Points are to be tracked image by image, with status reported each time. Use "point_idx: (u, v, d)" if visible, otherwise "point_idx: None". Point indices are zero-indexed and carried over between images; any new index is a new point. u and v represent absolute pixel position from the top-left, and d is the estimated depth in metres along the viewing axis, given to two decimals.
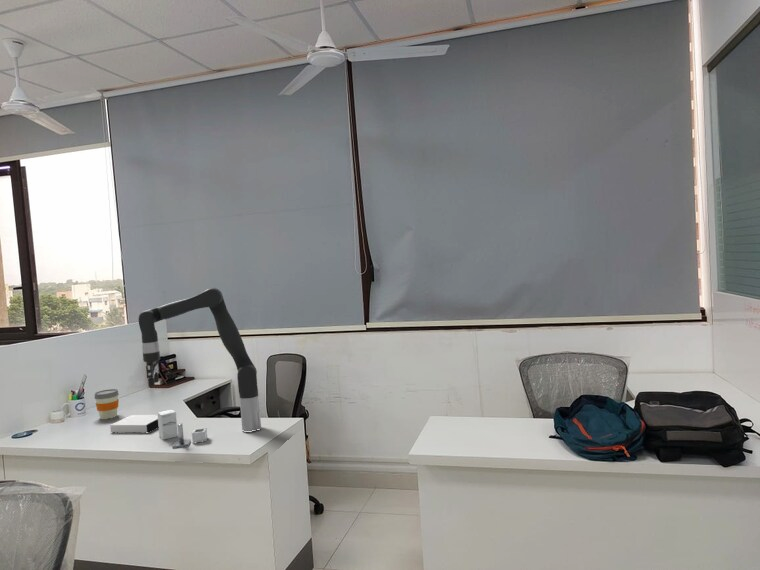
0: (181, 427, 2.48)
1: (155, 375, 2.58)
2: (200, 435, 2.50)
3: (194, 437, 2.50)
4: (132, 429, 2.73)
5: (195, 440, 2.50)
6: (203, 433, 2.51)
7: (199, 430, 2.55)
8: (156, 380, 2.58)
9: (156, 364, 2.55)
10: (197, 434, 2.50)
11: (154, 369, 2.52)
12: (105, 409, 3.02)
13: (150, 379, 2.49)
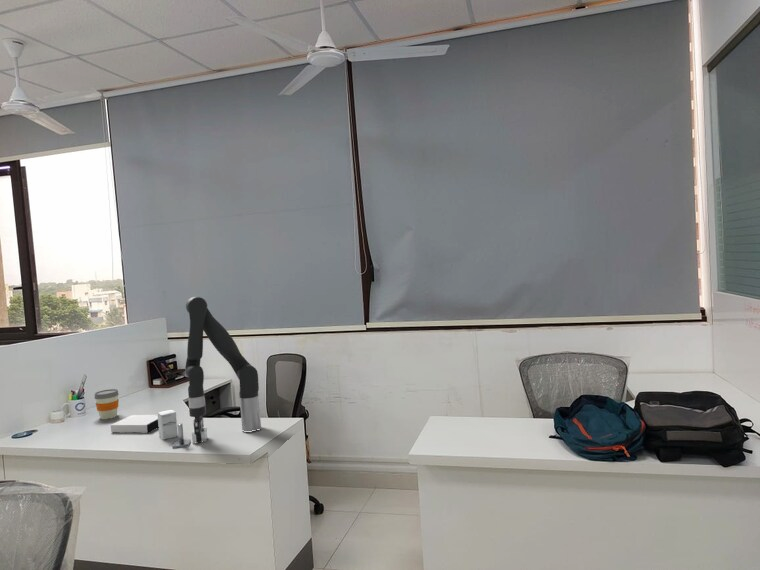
0: (181, 427, 2.48)
1: None
2: None
3: (194, 437, 2.50)
4: (133, 429, 2.73)
5: (195, 440, 2.50)
6: (203, 433, 2.51)
7: None
8: None
9: (202, 418, 2.54)
10: None
11: (201, 424, 2.51)
12: (105, 409, 3.02)
13: (197, 435, 2.49)
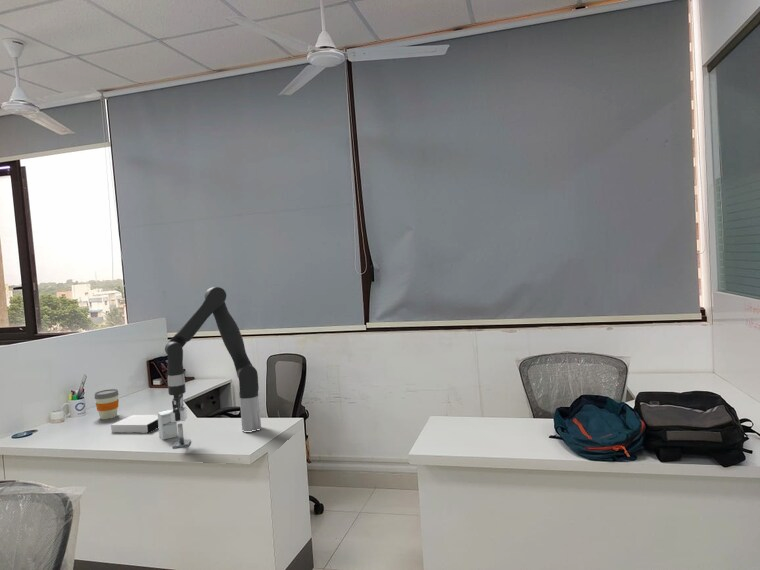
0: (181, 427, 2.48)
1: None
2: None
3: (173, 415, 2.45)
4: (133, 429, 2.73)
5: (174, 419, 2.45)
6: (182, 412, 2.46)
7: None
8: None
9: (181, 397, 2.49)
10: None
11: (180, 403, 2.46)
12: (105, 409, 3.02)
13: (176, 414, 2.44)
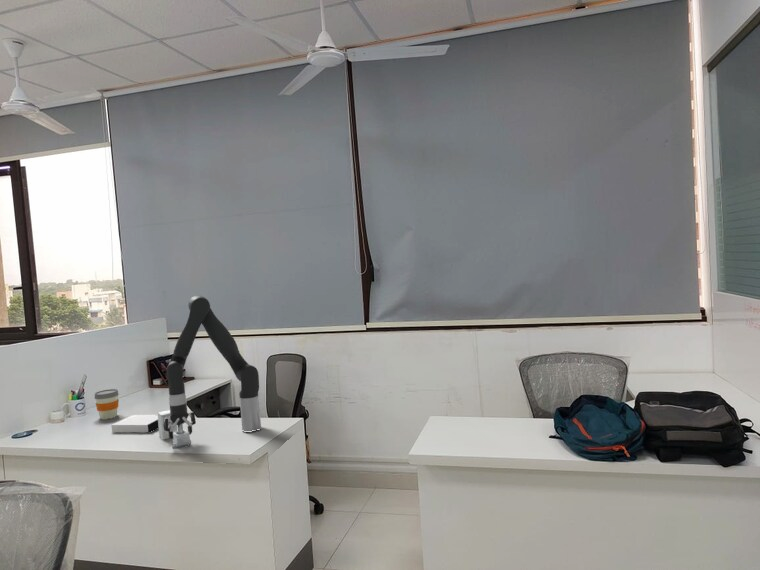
0: (181, 427, 2.48)
1: (188, 427, 2.51)
2: (175, 437, 2.46)
3: (173, 437, 2.48)
4: (134, 429, 2.73)
5: (173, 441, 2.48)
6: (176, 436, 2.45)
7: (184, 432, 2.50)
8: (189, 432, 2.51)
9: (182, 417, 2.47)
10: (174, 435, 2.47)
11: (174, 422, 2.45)
12: (105, 409, 3.02)
13: (168, 432, 2.45)
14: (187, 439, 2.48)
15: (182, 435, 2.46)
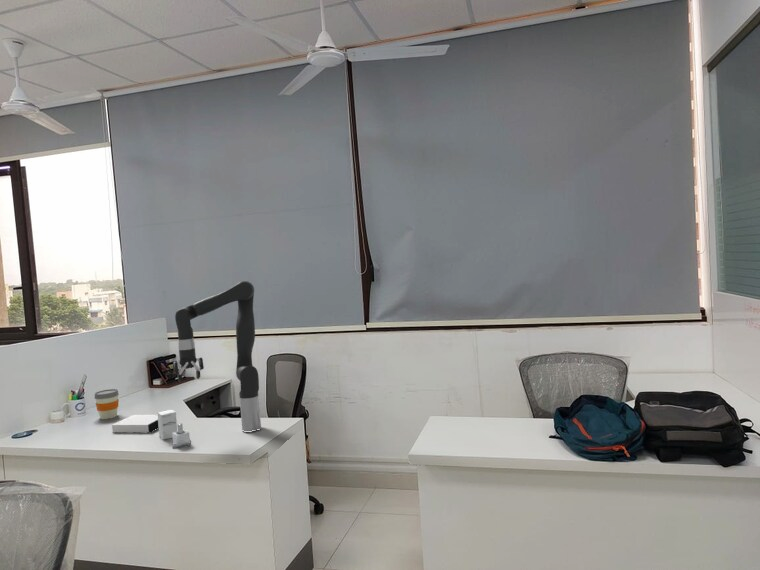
0: (181, 427, 2.48)
1: (196, 371, 2.62)
2: (175, 437, 2.46)
3: (173, 437, 2.48)
4: (134, 429, 2.73)
5: (173, 441, 2.48)
6: (176, 436, 2.45)
7: (184, 432, 2.50)
8: (197, 376, 2.62)
9: (191, 361, 2.59)
10: (174, 435, 2.47)
11: (183, 366, 2.57)
12: (105, 409, 3.02)
13: (178, 375, 2.56)
14: (187, 439, 2.48)
15: (182, 435, 2.46)
